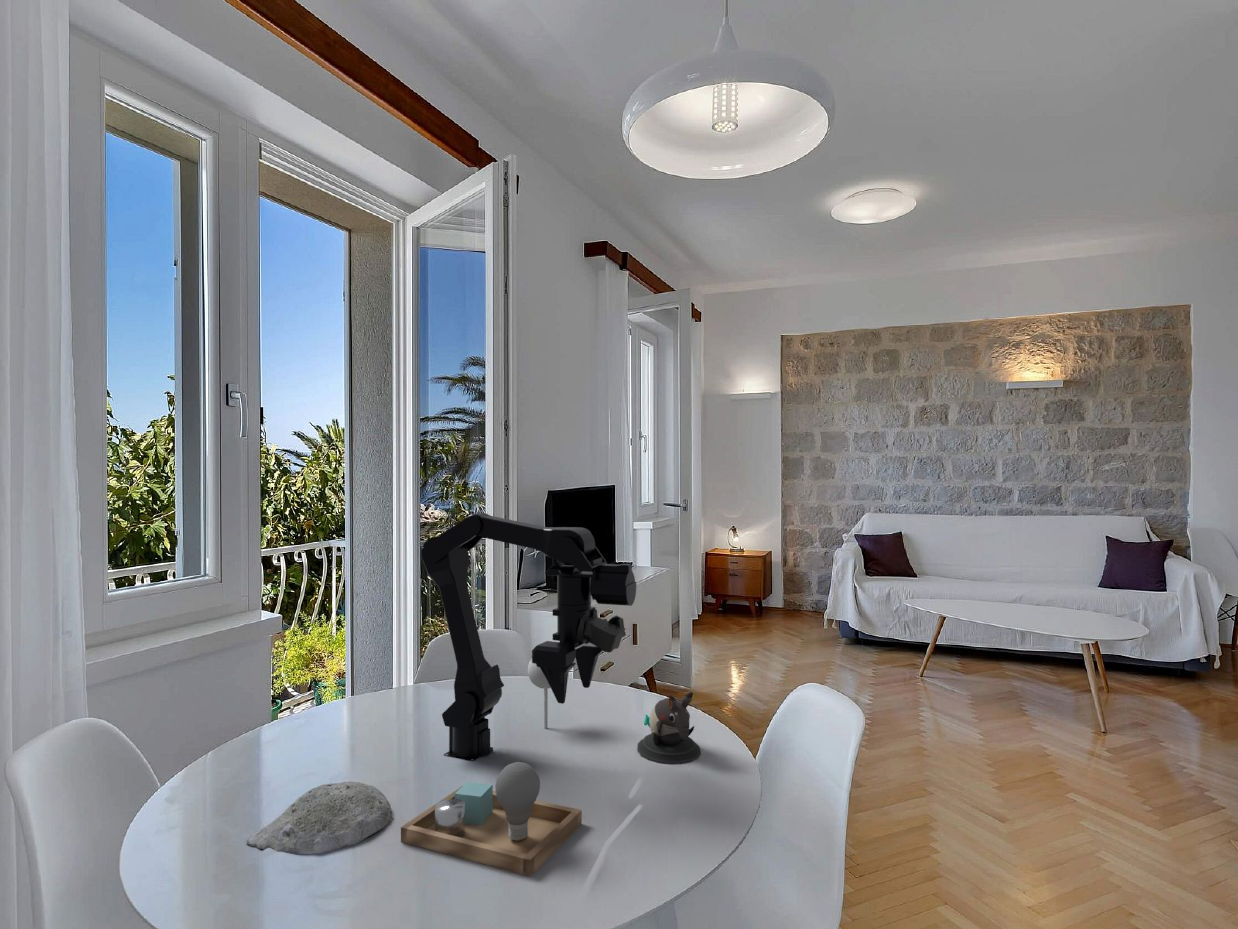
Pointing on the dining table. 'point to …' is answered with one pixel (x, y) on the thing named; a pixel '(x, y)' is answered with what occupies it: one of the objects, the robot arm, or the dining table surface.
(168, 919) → the dining table surface
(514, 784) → the light bulb
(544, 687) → the lollipop
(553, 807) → the tray
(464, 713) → the robot arm
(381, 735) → the dining table surface
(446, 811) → the grey metal cylinder
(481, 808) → the teal block
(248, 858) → the dining table surface
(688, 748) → the figurine
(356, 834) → the stone
